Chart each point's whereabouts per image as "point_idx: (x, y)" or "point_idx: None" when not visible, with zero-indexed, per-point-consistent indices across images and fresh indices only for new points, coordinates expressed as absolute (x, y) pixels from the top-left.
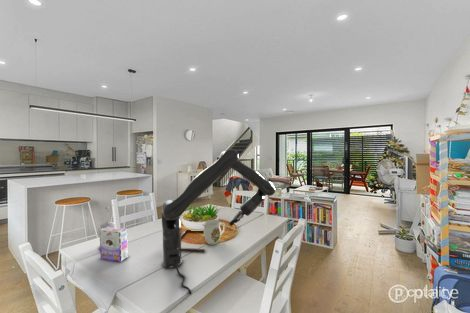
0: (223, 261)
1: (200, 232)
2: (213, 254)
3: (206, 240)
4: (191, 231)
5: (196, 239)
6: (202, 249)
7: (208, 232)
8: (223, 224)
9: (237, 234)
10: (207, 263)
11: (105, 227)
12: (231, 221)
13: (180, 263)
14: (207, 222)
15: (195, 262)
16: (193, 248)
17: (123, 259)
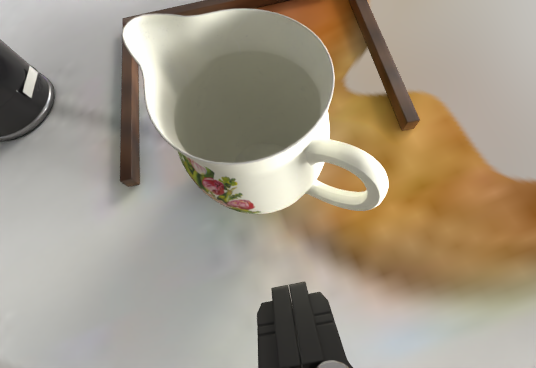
0: (37, 348)
1: (368, 46)
2: (114, 248)
3: (214, 141)
4: (352, 2)
5: None
6: (125, 169)
7: (176, 126)
8: (364, 180)
9: (481, 299)
10: (15, 260)
11: None
12: (276, 335)
13: (3, 139)
14: (275, 35)
15: (25, 195)
16: (130, 120)
17: None
